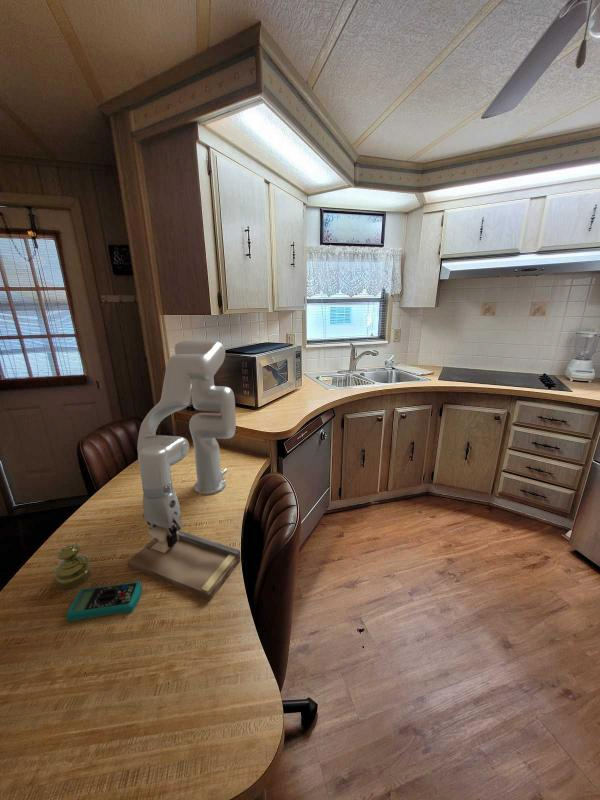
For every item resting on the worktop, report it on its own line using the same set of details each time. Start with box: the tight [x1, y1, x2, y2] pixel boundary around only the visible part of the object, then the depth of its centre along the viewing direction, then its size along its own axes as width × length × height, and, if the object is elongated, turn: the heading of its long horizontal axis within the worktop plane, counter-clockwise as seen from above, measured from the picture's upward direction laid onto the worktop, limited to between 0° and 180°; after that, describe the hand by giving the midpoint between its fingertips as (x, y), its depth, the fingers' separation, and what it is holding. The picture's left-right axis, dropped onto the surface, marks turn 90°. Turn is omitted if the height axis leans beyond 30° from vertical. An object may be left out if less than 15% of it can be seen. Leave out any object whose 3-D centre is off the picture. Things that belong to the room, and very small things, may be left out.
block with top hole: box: [145, 525, 180, 553], centre depth 90 cm, size 9×5×6 cm, turn 158°
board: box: [126, 530, 242, 601], centre depth 87 cm, size 14×28×4 cm, turn 68°
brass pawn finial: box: [54, 543, 92, 590], centre depth 81 cm, size 7×7×10 cm
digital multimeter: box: [65, 581, 143, 622], centre depth 75 cm, size 7×15×3 cm, turn 100°
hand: (165, 541), depth 91 cm, fingers closed on block with top hole, 5 cm apart
